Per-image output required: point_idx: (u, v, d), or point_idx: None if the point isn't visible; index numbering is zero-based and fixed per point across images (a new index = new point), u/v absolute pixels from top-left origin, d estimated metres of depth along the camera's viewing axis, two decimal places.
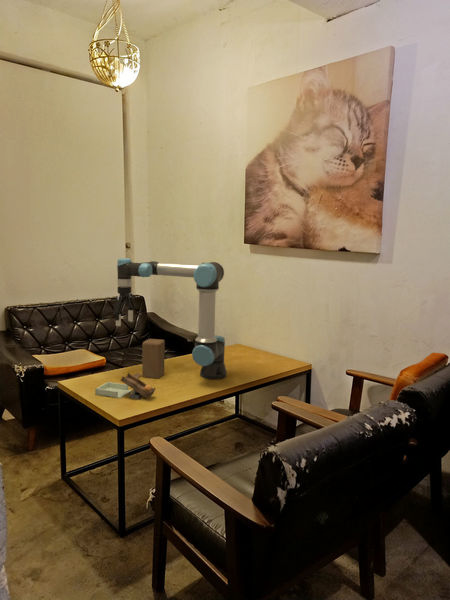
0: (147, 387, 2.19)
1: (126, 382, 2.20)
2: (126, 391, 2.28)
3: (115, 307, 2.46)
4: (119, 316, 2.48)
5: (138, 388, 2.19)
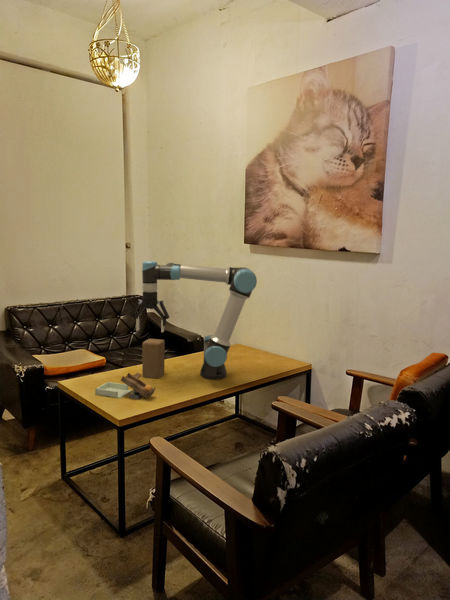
0: (147, 387, 2.19)
1: (126, 382, 2.20)
2: (126, 391, 2.28)
3: None
4: (136, 320, 2.38)
5: (138, 388, 2.19)
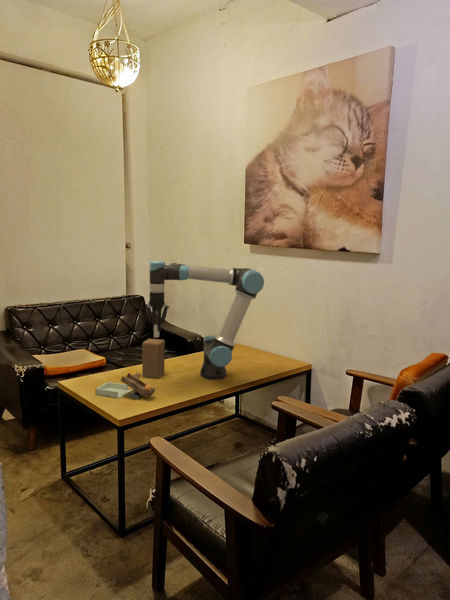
0: (147, 387, 2.19)
1: (126, 382, 2.20)
2: (126, 391, 2.28)
3: None
4: (154, 326, 2.33)
5: (138, 388, 2.19)
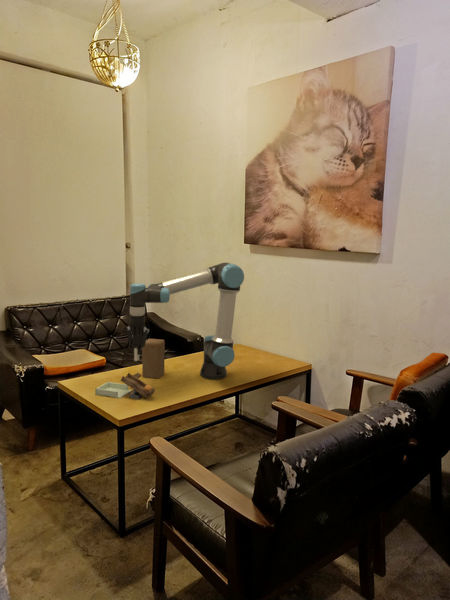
0: (147, 387, 2.19)
1: (126, 382, 2.20)
2: (126, 391, 2.28)
3: None
4: (134, 350, 2.29)
5: (138, 388, 2.19)
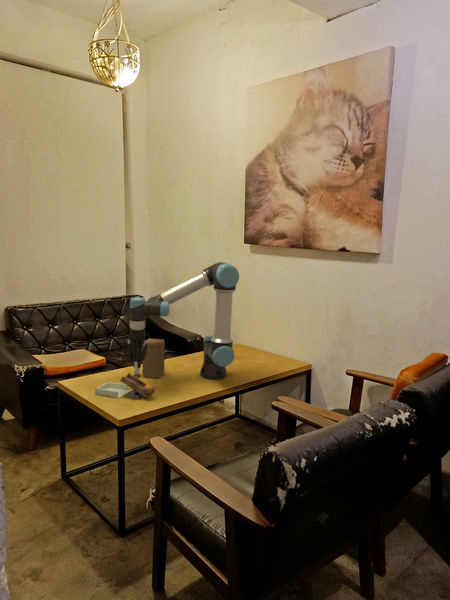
0: (147, 387, 2.19)
1: (126, 382, 2.20)
2: (126, 391, 2.28)
3: None
4: (134, 363, 2.30)
5: (138, 388, 2.19)
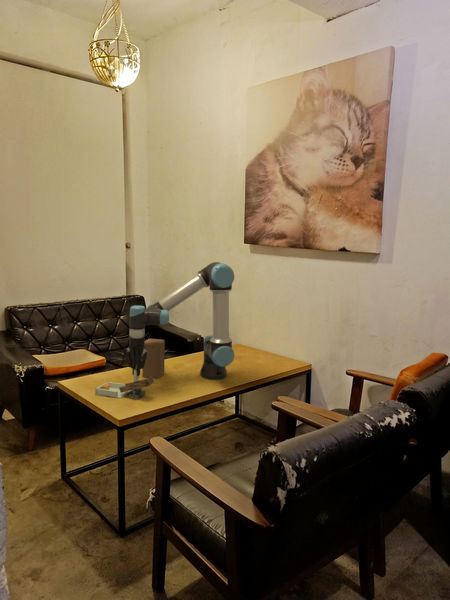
0: (103, 386, 2.27)
1: (125, 389, 2.21)
2: (126, 391, 2.28)
3: None
4: (134, 371, 2.31)
5: (136, 385, 2.19)
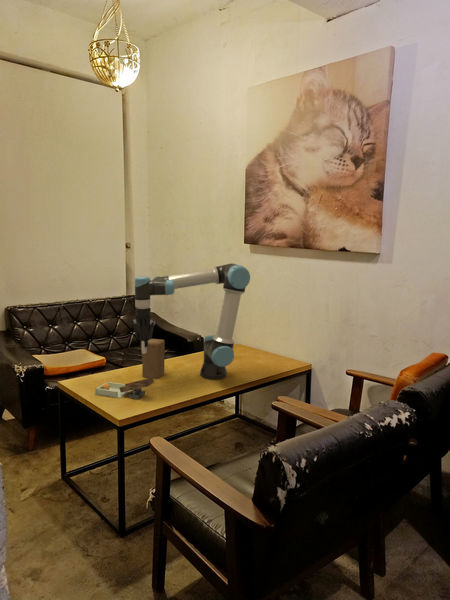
0: (103, 386, 2.27)
1: (125, 389, 2.21)
2: (126, 391, 2.28)
3: None
4: (141, 343, 2.30)
5: (136, 385, 2.19)
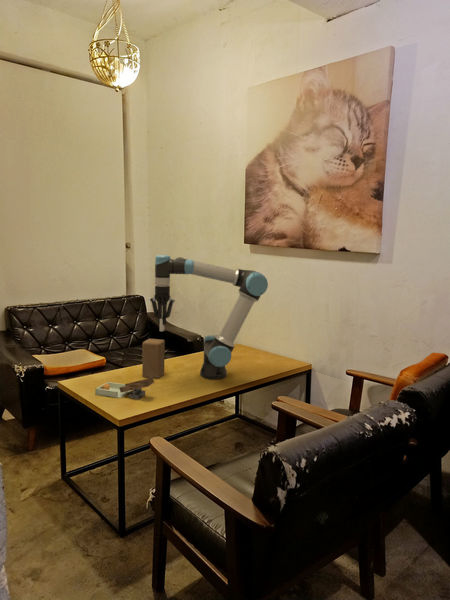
0: (103, 386, 2.27)
1: (125, 389, 2.21)
2: (126, 391, 2.28)
3: None
4: (160, 320, 2.34)
5: (136, 385, 2.19)
